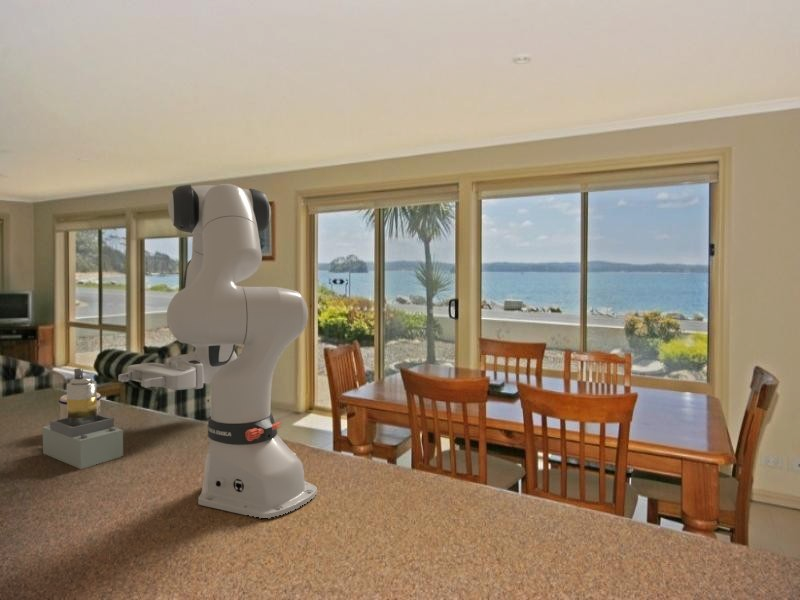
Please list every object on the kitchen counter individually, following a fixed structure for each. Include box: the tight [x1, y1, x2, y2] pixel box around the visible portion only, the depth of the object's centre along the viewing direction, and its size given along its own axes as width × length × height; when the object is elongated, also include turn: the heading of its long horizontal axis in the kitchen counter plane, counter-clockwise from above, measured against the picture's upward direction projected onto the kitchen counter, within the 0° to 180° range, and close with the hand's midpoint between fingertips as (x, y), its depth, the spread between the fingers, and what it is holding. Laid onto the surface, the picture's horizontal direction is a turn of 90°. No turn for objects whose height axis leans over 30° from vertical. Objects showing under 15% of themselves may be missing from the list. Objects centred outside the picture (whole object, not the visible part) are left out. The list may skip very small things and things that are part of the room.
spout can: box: [66, 368, 98, 427], centre depth 117 cm, size 6×6×13 cm
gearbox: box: [42, 413, 124, 470], centre depth 118 cm, size 20×9×8 cm, turn 58°
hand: (131, 381), depth 126 cm, fingers open, 8 cm apart
